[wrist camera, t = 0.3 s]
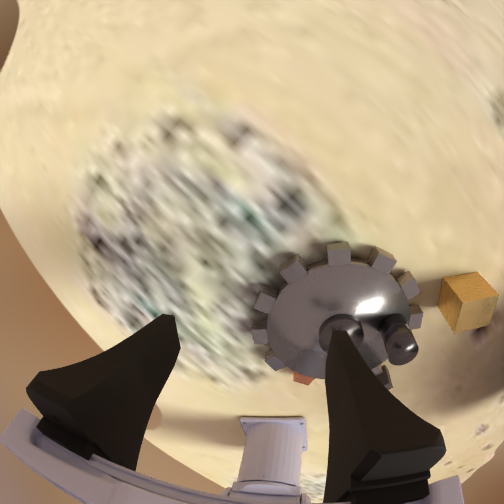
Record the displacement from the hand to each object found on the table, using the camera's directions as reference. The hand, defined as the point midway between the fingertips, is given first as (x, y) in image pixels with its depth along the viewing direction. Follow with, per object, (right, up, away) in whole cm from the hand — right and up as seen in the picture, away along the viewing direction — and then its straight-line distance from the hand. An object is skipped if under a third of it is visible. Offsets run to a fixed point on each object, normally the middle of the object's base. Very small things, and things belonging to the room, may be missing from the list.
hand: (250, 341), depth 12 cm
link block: (+18, +1, +8) cm, 20 cm away
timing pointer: (+13, -8, +12) cm, 20 cm away
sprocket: (+7, -2, +10) cm, 13 cm away
